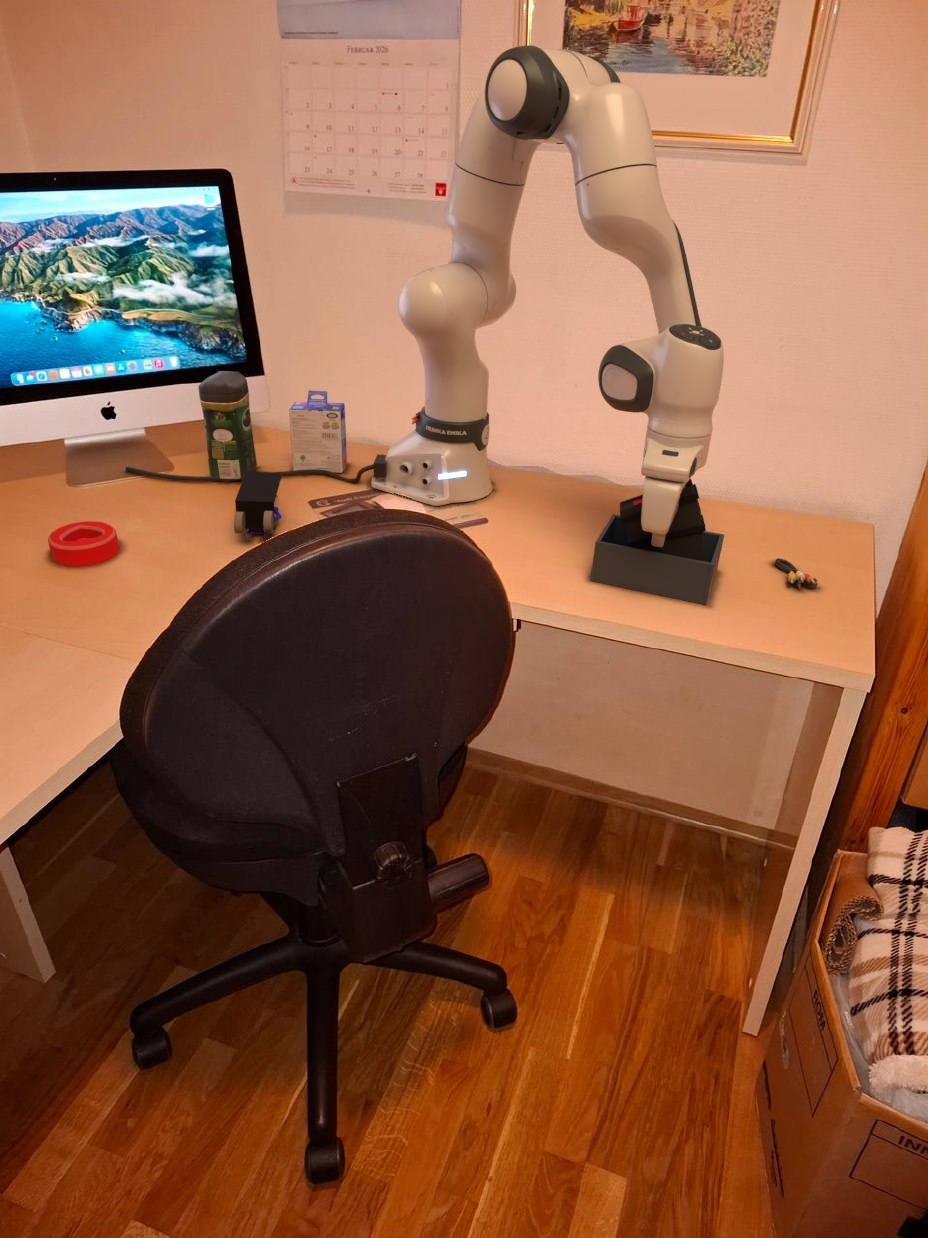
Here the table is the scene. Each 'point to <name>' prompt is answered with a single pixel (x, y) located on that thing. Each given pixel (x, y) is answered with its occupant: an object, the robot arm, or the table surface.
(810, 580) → the composite cable
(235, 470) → the coffee jar
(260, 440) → the table surface
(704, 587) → the box
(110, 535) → the decorative ornament
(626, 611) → the table surface
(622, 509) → the magazine
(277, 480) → the toy wheeled vehicle
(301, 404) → the ink cartridge box
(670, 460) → the robot arm
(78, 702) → the table surface
